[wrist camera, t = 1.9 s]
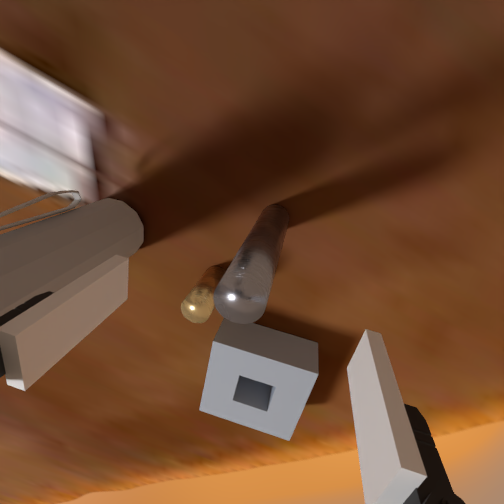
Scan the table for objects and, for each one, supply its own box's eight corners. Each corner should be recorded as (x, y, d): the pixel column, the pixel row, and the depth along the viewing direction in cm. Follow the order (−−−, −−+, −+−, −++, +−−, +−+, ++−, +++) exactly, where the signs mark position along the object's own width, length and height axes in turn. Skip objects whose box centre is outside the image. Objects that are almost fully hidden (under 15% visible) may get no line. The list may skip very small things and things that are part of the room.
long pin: (264, 201, 30) (217, 271, 15) (292, 208, 30) (271, 286, 15) (258, 227, 31) (209, 315, 17) (285, 235, 31) (259, 330, 16)
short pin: (206, 263, 34) (182, 293, 28) (230, 270, 34) (211, 302, 28) (203, 284, 35) (179, 318, 29) (226, 290, 35) (207, 326, 29)
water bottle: (156, 253, 35) (-127, 481, 13) (101, 254, 37) (-236, 455, 14) (138, 176, 32) (-302, 301, 9) (77, 181, 33) (-419, 295, 11)
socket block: (225, 314, 37) (213, 341, 32) (318, 342, 36) (318, 374, 31) (211, 379, 42) (199, 410, 37) (292, 405, 41) (289, 440, 36)
